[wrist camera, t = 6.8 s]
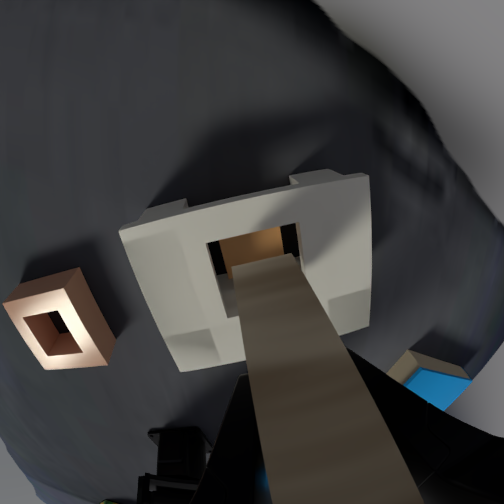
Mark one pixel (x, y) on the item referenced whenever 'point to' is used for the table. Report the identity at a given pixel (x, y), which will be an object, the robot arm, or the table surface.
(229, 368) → the table surface
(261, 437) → the tan square peg
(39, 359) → the holder
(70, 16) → the table surface
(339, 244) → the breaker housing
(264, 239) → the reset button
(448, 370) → the book
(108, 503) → the printed toy box
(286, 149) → the table surface
